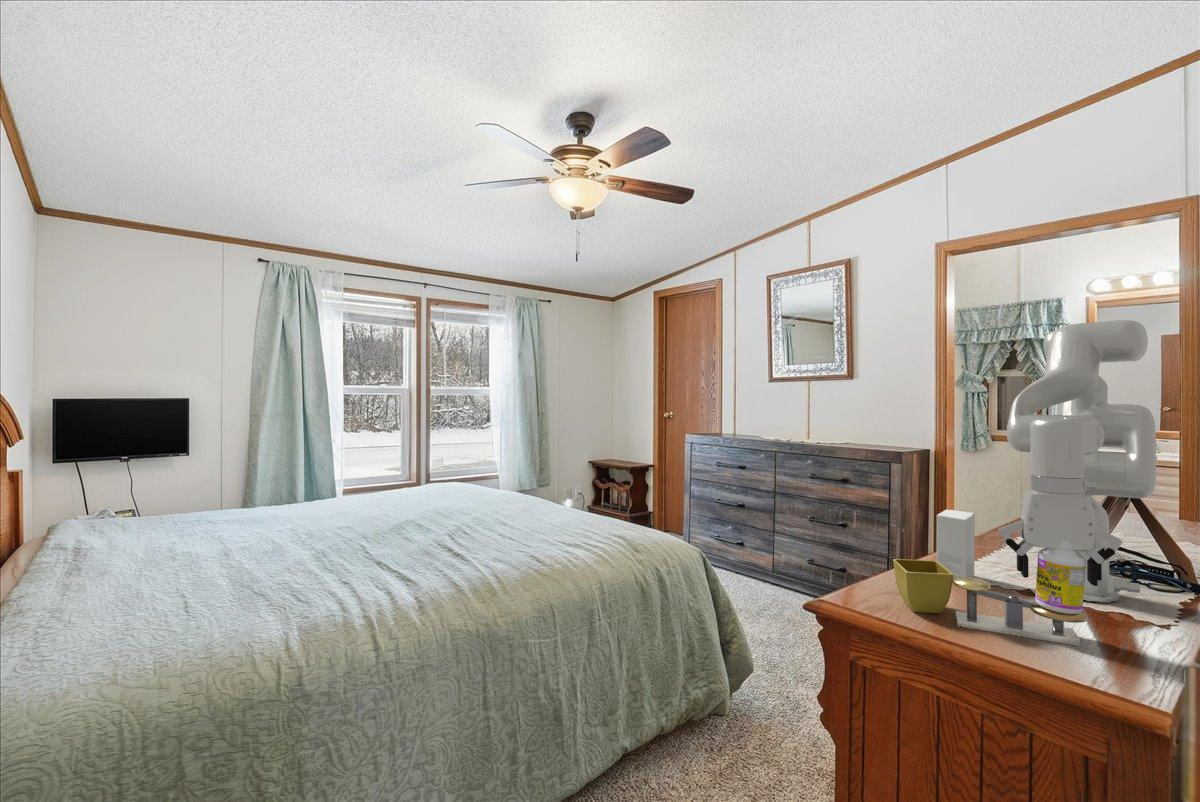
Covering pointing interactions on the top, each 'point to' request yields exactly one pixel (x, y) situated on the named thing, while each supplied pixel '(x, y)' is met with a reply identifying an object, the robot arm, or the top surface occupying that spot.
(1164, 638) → the top surface
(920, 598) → the flower pot
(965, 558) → the skincare box
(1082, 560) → the supplement bottle
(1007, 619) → the balance
